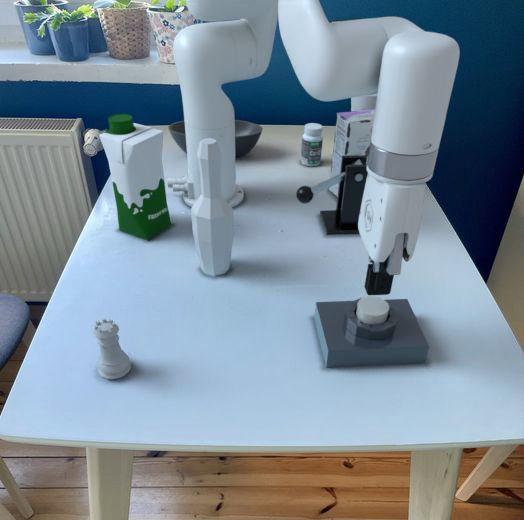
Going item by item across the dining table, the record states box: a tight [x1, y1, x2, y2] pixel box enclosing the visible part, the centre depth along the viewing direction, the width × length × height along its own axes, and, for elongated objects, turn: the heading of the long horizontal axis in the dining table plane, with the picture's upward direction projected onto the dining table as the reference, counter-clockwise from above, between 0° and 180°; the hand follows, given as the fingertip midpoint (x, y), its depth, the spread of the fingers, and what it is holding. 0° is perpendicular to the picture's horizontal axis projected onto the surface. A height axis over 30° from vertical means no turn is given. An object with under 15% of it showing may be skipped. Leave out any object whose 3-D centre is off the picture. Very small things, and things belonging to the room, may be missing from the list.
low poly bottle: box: [190, 138, 235, 277], centre depth 85 cm, size 6×6×22 cm
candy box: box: [328, 109, 375, 199], centre depth 110 cm, size 14×6×16 cm, turn 108°
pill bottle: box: [300, 122, 324, 167], centre depth 124 cm, size 5×5×8 cm
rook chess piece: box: [92, 317, 132, 381], centre depth 71 cm, size 4×4×8 cm
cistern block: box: [313, 297, 430, 369], centre depth 78 cm, size 14×11×5 cm
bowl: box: [167, 119, 264, 160], centre depth 128 cm, size 12×22×6 cm, turn 88°
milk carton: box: [98, 113, 172, 241], centre depth 96 cm, size 9×9×20 cm
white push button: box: [356, 295, 389, 325], centre depth 76 cm, size 4×4×2 cm
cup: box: [350, 94, 377, 112], centre depth 133 cm, size 8×8×12 cm
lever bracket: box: [319, 155, 368, 236], centre depth 100 cm, size 10×8×13 cm
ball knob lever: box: [295, 159, 362, 205], centre depth 99 cm, size 13×3×3 cm, turn 94°
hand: (376, 291), depth 73 cm, fingers closed
